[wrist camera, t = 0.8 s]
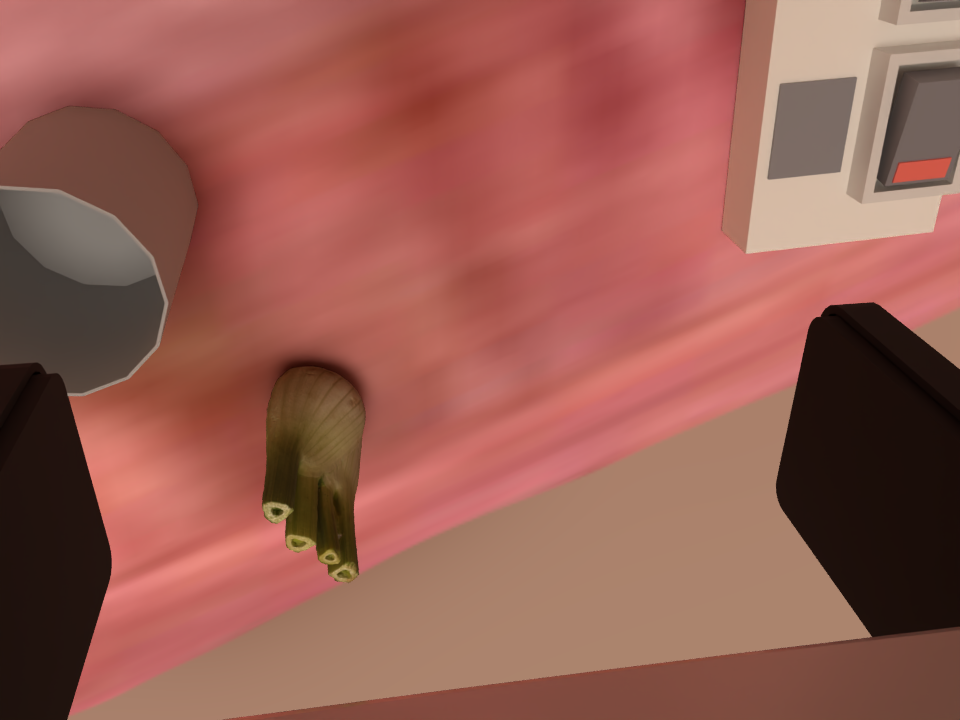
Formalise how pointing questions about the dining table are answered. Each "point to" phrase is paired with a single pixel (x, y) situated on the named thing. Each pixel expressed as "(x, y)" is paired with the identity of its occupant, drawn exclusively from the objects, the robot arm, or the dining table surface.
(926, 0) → the rocker middle
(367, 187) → the dining table surface
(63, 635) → the robot arm
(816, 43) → the power strip
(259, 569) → the dining table surface
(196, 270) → the dining table surface
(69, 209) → the cup
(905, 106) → the rocker
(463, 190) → the dining table surface
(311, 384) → the fennel bulb
